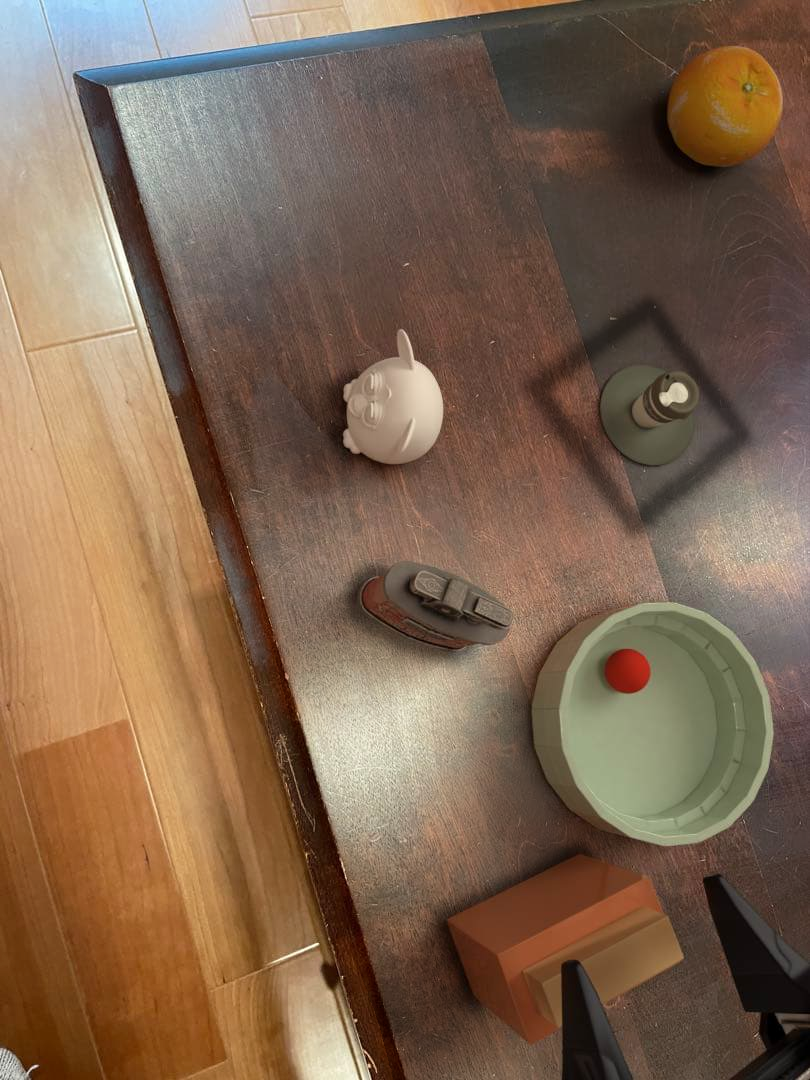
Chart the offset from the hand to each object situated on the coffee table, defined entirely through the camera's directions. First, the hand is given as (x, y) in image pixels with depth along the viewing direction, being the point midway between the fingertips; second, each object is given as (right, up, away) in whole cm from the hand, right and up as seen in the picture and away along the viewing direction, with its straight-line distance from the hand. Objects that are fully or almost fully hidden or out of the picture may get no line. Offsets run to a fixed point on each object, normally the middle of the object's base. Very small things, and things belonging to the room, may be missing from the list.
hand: (644, 915), depth 43 cm
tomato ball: (+4, +9, +19) cm, 21 cm away
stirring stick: (-1, -6, +8) cm, 10 cm away
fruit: (+12, +50, +32) cm, 60 cm away
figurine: (-12, +26, +20) cm, 35 cm away
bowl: (+4, +5, +21) cm, 22 cm away
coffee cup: (+6, +27, +26) cm, 38 cm away
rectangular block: (-3, -7, +17) cm, 18 cm away
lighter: (-11, +12, +18) cm, 24 cm away
